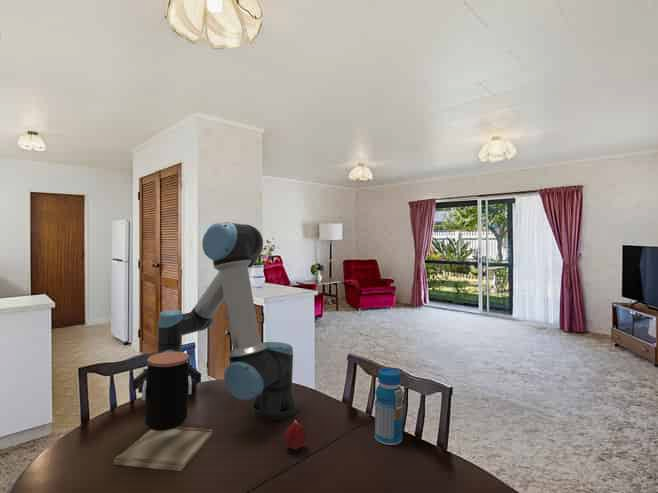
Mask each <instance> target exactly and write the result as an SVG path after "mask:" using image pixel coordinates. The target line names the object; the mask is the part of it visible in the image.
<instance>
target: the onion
mask: <svg viewBox="0 0 658 493" xmlns="http://www.w3.org/2000/svg"><path fill="white" fill-rule="evenodd" d="M284 438H285V442H286V444H287V445H288V446H289V447H290V448H291V449H292V450H294V451H297V450H299V449H300V448H301V447H303V446H304V445H305V442H306V440H307V431H306V429H305V428H304V426H303V425H302V424H300V423H299V422H298V420H295V419H294V421H293V423H292V424H291V425H289V427H288V428H286V432H285V436H284Z"/></svg>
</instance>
